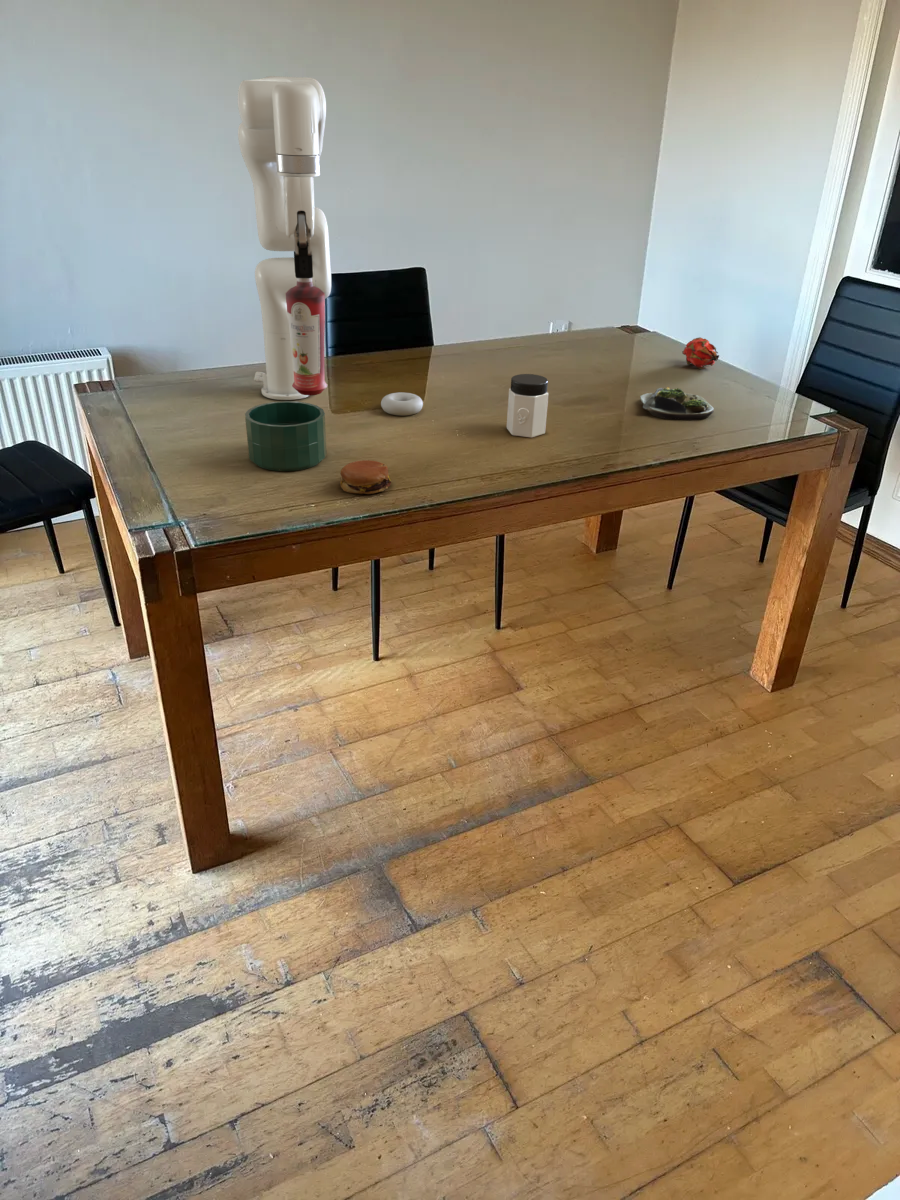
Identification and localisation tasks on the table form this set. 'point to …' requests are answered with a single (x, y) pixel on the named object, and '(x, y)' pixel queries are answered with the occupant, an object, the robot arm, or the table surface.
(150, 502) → the table surface
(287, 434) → the ice bucket
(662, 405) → the salad plate
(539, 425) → the jar
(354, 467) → the burger
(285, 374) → the robot arm
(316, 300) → the liquor
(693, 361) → the dragon fruit
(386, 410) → the donut
